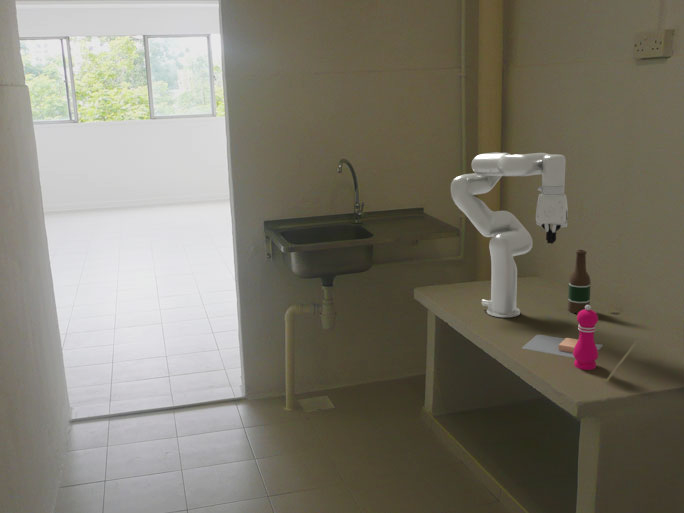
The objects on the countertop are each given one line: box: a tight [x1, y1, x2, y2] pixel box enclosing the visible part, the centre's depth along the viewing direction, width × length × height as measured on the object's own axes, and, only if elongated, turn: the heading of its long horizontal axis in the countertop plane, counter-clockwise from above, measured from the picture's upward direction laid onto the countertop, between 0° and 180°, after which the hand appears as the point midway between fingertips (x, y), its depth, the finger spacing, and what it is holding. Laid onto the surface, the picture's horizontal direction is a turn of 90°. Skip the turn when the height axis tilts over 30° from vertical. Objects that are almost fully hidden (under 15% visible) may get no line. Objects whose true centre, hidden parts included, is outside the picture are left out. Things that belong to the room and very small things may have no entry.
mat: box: [521, 333, 604, 359], centre depth 228 cm, size 22×16×1 cm
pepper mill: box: [573, 304, 599, 371], centre depth 209 cm, size 7×7×20 cm
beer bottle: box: [567, 249, 591, 315], centre depth 264 cm, size 8×8×24 cm
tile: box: [559, 337, 579, 353], centre depth 225 cm, size 2×8×9 cm
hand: (551, 242), depth 242 cm, fingers closed
